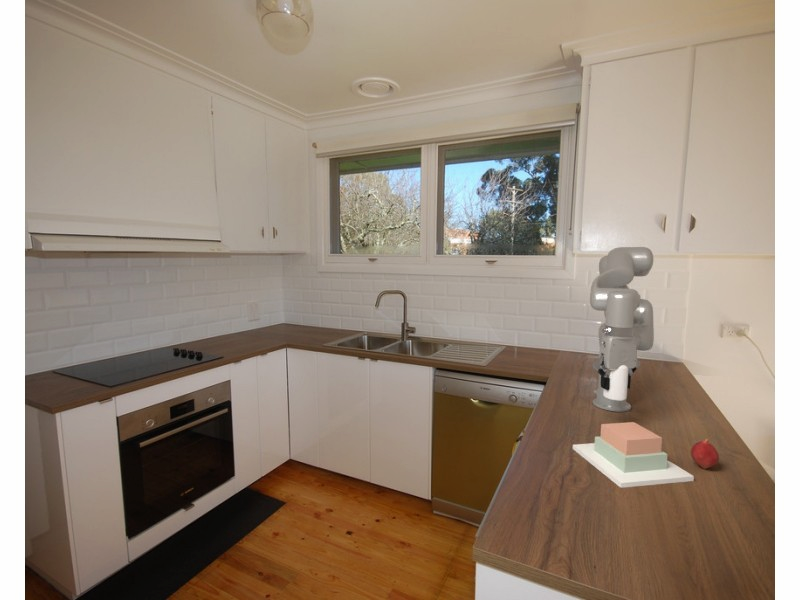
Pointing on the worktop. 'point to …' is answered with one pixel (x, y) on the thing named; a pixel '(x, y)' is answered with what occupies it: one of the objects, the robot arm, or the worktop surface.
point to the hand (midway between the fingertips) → (615, 387)
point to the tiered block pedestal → (631, 456)
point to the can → (617, 384)
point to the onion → (704, 454)
